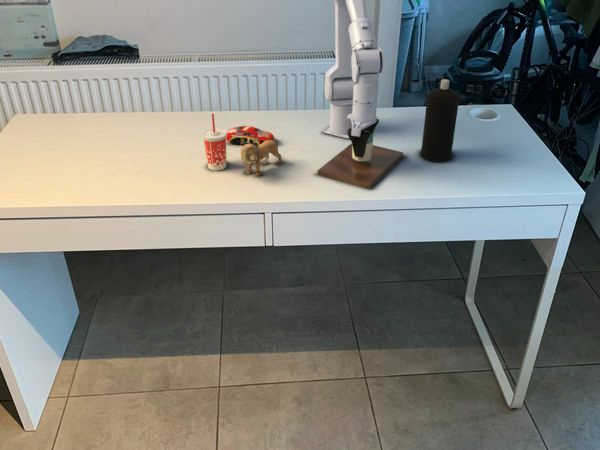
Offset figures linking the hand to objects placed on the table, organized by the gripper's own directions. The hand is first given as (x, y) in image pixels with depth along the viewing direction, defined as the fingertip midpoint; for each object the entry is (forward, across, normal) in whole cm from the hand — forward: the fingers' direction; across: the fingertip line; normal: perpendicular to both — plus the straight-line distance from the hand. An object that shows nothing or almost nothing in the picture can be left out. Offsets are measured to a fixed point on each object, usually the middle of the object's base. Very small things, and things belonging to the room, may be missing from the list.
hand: (362, 151), depth 153 cm
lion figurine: (+4, +11, -22) cm, 25 cm away
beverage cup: (+4, +13, -34) cm, 37 cm away
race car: (+4, -3, -32) cm, 32 cm away
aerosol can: (+4, -12, +17) cm, 21 cm away
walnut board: (+4, 0, 0) cm, 4 cm away
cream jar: (+1, 0, 0) cm, 1 cm away
